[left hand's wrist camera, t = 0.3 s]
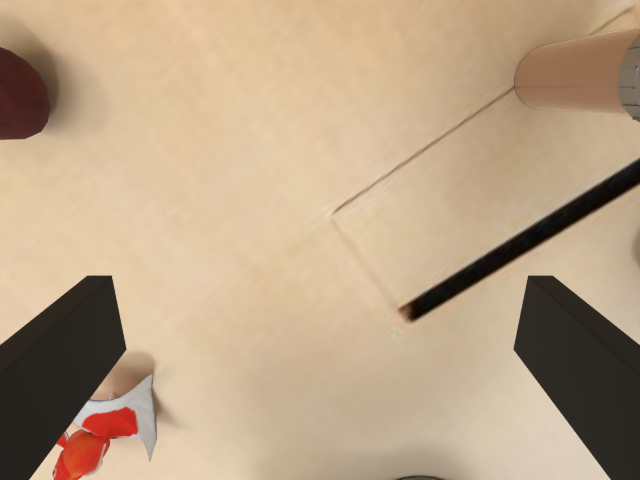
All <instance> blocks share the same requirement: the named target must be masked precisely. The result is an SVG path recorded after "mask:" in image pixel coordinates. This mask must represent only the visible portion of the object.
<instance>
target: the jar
mask: <svg viewBox="0 0 640 480" xmlns="http://www.w3.org/2000/svg"><path fill="white" fill-rule="evenodd" d="M639 34H640V26H637V27H632V28H627V29H622V30H617V31H612V32H607V33H602V34H597V35H592V36H587V37H582V38H577V39H572V40H567V41H562V42H557V43H552V44H547V45H543V46H540V47H537V48H535V49H534V50H532V51H531V52H529V53H528V54H527V55H526V56H525V57H524V58H523V60H522V61H521V63H520V64H519V66H518V68H517V71H516V74H515V81H514V84H515V91H516V94H517V96H518V98H519V99H520V100H521V101H522V102H523V103H524V104H525V105H527V106H529V107H532V108H538V109H549V110H561V111H573V112H585V113H597V114H609V115H621V116H630V115H629V114H628V113H627V112H626V110H625V109H624V107H622V103H621V101H620V97H619V93H618V89H617V88H618V76H619V70H620V69H619V68H620V67H621V63H622V61H623V58H624V56H625V54H626V52H627V50H628V47H629V46H630V45H631V44H632V42H633V41H634V40H635V38H636V37H637V36H638V35H639Z"/></svg>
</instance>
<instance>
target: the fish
mask: <svg viewBox="0 0 640 480" xmlns="http://www.w3.org/2000/svg"><path fill="white" fill-rule="evenodd" d="M152 380H153V374H150V375H149V376H147V377H146V378H145V379H144V380H142V381H141V382H140V383H139V384H138V385H137V386H136V387H134V388H133V389H132V390H130V391H129V392H127V393H126V394H124V395H123V396H121V397H120V398H117V399H113V400H111V396H112V394H111V396H110V398H109V400H90V399H89V400H88V402H87V403H86V404H85V406H84V407H83V408H82V410H81V411H80V412H79V414H78V415H77V416H76V418H75V419H74V420H73V421H74V422H75V423H76V424H77V425H78V426H80V427H81V428H82V429H81V430H78V431H77V432H75V433H74V434H72V435H71V436H70V438H69V437H68V434H67V433H66V431H65V432H64V434H63V435H62V436H61V438H60V439H59V440H58V442H57V443H56V444H58V445H59V446H61V447H63V448H64V450H63V451H62V452H61V454H60V456H59V458H58V461H57V463H56V465H55V467H54V471H53V478H54V480H78V479H80V478H81V477H82V476H83V475H85V476H90V475H93V474H95V473H96V472H97V471H98V470H99V469H100V467H101V465H102V458H103V457H104V455H105V454H106V452H107V450H108V448H109V446H110V439H115V438H123V437H132V438H139V439H141V440H142V442H143V443H144V445H145V447H146V450H147V453H148V456H149V461H150V460H151V457H152V454H153V450H154V447H155V443H156V440H157V426H156V412H155V406H154V401H153V395H152V389H151V388H152ZM109 438H110V439H109Z"/></svg>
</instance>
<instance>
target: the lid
mask: <svg viewBox="0 0 640 480" xmlns="http://www.w3.org/2000/svg"><path fill="white" fill-rule="evenodd" d="M619 69H620V70H619V76H618V88H617V89H618V93H619V97H620V101H621V103H622V107H624V109H625V110H626V112H627V113H628V114H629V115H630V116H631V117H632V119H633V120H637V121H639V122H640V34H639V35H638V36H637V37H636V38H635V40H634V41H633V42H632V44H631V45H630V46H629V47H628V50H627V52H626V54H625V56H624V58H623V61H622V63H621V67H620V68H619Z"/></svg>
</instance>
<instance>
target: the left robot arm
mask: <svg viewBox="0 0 640 480" xmlns="http://www.w3.org/2000/svg"><path fill="white" fill-rule="evenodd" d="M125 351H126V344H125V339H124V334H123V329H122V324H121V319H120V314H119V309H118V305H117V300H116V295H115V290H114V285H113V280H112V276H86V277H85V278H84V279H83V280H81V281H80V282H79V283H78V284H76V285H75V286H74V287H73V288H71V289H70V290H69V291H68V292H66V293H65V294H64V295H63V296H61V297H60V298H59V299H58V300H56V301H55V302H54V303H53V304H51V305H50V306H49V307H48V308H46V309H45V310H44V311H42V312H41V313H40V314H39V315H37V316H36V317H35V318H34V319H32V320H31V321H30V322H29V323H27V324H26V325H25V326H24V327H22V328H21V329H20V330H19V331H17V332H16V333H15V334H14V335H12V336H11V337H10V338H9V339H7V340H6V341H5V342H4V343H2V344H1V345H0V480H29V479H30V478H31V476H32V475H33V474H34V472H35V471H36V470H37V468H38V467H39V466H40V464H41V463H42V462H43V460H44V459H45V458H46V456H47V455H48V454H49V452H50V451H51V450H52V448H53V447H54V446H55V444H56V443H57V442H58V440H59V439H60V438H61V436H62V435H63V434H64V432H65V431H66V430H67V428H68V427H69V426H70V424H71V423H72V422H73V420H74V419H75V418H76V416H77V415H78V414H79V412H80V411H81V410H82V408H83V407H84V406H85V404H86V403H87V402H88V400H89V399H90V398H91V396H92V395H93V393H94V392H95V391H96V389H97V388H98V387H99V385H100V384H101V383H102V381H103V380H104V379H105V377H106V376H107V375H108V373H109V372H110V371H111V369H112V368H113V367H114V365H115V364H116V363H117V361H118V360H119V359H120V357H121V356H122V355H123V353H124V352H125ZM514 351H515V352H516V353H517V355H518V356H519V357H520V359H521V360H522V361H523V363H524V364H525V365H526V367H527V368H528V369H529V371H530V372H531V373H532V375H533V376H534V377H535V379H536V380H537V381H538V383H539V384H540V385H541V387H542V388H543V389H544V391H545V392H546V393H547V395H548V396H549V398H550V399H551V400H552V402H553V403H554V404H555V406H556V407H557V408H558V410H559V411H560V412H561V414H562V415H563V416H564V418H565V419H566V420H567V422H568V423H569V424H570V426H571V427H572V428H573V430H574V431H575V432H576V434H577V435H578V436H579V438H580V439H581V440H582V442H583V443H584V444H585V446H586V447H587V448H588V450H589V451H590V452H591V454H592V455H593V456H594V458H595V459H596V460H597V462H598V463H599V464H600V466H601V467H602V468H603V470H604V471H605V472H606V474H607V475H608V476H609V478H610V479H611V480H640V345H639V344H638V343H636V342H635V341H634V340H633V339H631V338H630V337H629V336H628V335H626V334H625V333H624V332H623V331H621V330H620V329H619V328H618V327H616V326H615V325H614V324H613V323H611V322H610V321H609V320H608V319H606V318H605V317H604V316H603V315H601V314H600V313H599V312H598V311H596V310H595V309H594V308H592V307H591V306H590V305H589V304H587V303H586V302H585V301H584V300H582V299H581V298H580V297H579V296H577V295H576V294H575V293H574V292H572V291H571V290H570V289H569V288H567V287H566V286H565V285H564V284H562V283H561V282H560V281H559V280H557V279H556V278H555V277H554V276H528V280H527V285H526V290H525V295H524V300H523V305H522V309H521V314H520V319H519V324H518V329H517V334H516V339H515V344H514ZM401 480H439V479H434V478H428V477H412V478H405V479H401Z"/></svg>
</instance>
